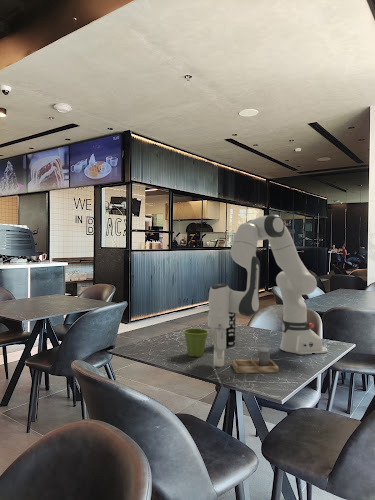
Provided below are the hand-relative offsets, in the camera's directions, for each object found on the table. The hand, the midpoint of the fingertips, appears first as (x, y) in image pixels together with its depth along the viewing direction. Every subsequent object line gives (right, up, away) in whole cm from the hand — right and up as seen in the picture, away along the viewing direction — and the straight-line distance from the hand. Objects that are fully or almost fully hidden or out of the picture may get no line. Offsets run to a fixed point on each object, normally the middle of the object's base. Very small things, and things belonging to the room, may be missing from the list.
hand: (217, 355), depth 159 cm
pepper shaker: (+19, -4, -4) cm, 20 cm away
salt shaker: (0, -5, 0) cm, 5 cm away
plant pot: (-9, -5, +17) cm, 20 cm away
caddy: (+15, -5, -4) cm, 16 cm away
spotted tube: (+8, -5, +37) cm, 38 cm away
